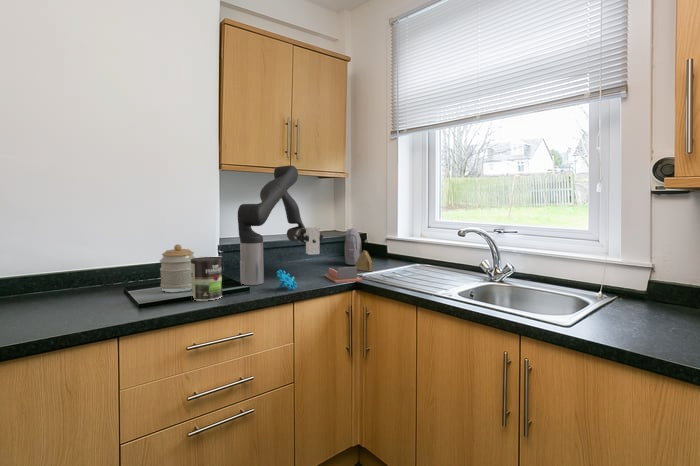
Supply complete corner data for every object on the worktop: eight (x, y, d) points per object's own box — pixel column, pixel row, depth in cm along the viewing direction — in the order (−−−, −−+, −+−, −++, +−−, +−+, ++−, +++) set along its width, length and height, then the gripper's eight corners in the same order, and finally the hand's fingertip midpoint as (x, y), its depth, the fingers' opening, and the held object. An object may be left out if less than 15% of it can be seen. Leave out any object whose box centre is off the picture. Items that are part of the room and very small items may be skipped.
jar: (189, 284, 157) (188, 241, 156) (202, 289, 148) (201, 244, 146) (155, 289, 148) (154, 244, 146) (167, 295, 139) (166, 247, 137)
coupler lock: (309, 254, 170) (309, 228, 169) (306, 253, 175) (305, 227, 174) (319, 254, 172) (319, 227, 171) (316, 252, 177) (316, 227, 176)
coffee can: (228, 296, 136) (227, 257, 135) (204, 303, 128) (203, 261, 127) (210, 293, 142) (209, 255, 141) (185, 299, 133) (184, 259, 132)
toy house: (379, 267, 186) (374, 261, 196) (369, 253, 184) (365, 248, 194) (361, 280, 186) (357, 273, 196) (351, 267, 184) (348, 261, 194)
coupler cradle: (336, 283, 160) (336, 269, 159) (324, 276, 175) (324, 263, 174) (362, 280, 164) (362, 267, 164) (348, 274, 179) (348, 262, 179)
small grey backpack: (349, 262, 216) (349, 227, 214) (363, 262, 214) (363, 227, 213) (343, 266, 201) (343, 228, 200) (358, 267, 200) (359, 229, 198)
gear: (289, 288, 142) (274, 268, 145) (278, 299, 143) (264, 278, 146) (303, 286, 152) (288, 268, 155) (293, 296, 153) (279, 277, 156)
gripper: (290, 228, 184) (298, 231, 168) (318, 227, 189) (329, 230, 173) (290, 243, 184) (298, 247, 168) (318, 242, 189) (329, 246, 174)
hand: (314, 238), depth 171 cm, fingers closed on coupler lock, 5 cm apart
